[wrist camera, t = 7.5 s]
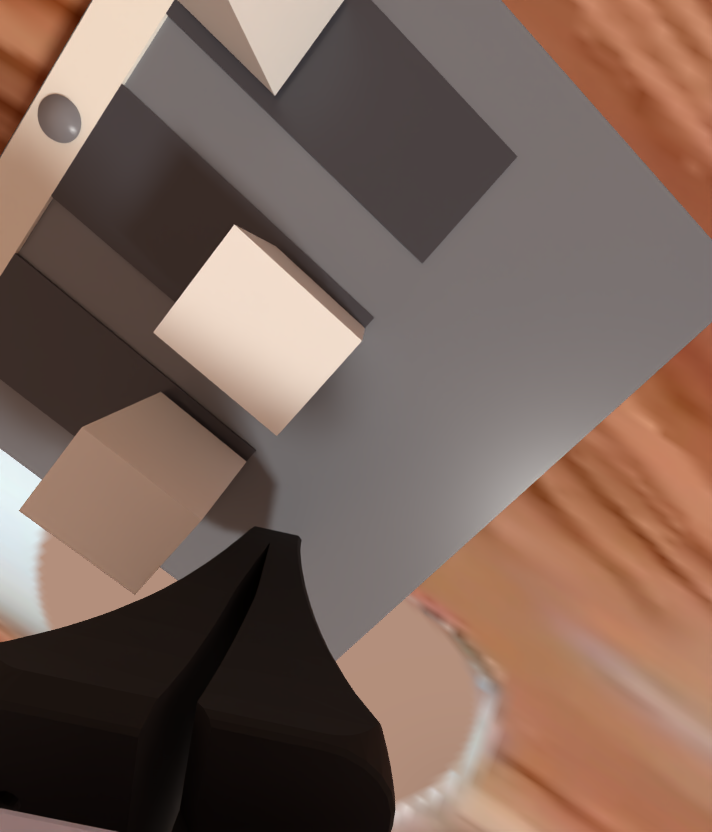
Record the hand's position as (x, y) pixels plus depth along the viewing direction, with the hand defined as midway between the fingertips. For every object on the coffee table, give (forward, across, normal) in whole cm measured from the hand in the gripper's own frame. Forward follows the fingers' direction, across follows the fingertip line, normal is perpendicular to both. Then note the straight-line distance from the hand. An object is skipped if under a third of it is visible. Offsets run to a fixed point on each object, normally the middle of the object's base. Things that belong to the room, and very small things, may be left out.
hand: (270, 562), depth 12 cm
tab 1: (+1, +3, -2) cm, 4 cm away
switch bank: (+3, +1, -6) cm, 7 cm away
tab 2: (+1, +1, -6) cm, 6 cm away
